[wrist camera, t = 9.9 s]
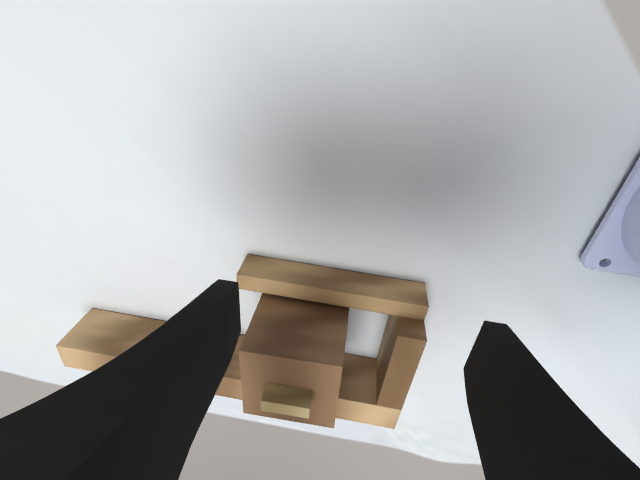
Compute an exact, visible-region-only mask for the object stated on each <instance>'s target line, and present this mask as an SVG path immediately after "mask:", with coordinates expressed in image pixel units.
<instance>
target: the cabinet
mask: <svg viewBox="0 0 640 480" xmlns="http://www.w3.org/2000/svg"><path fill="white" fill-rule="evenodd" d="M348 312H349V307H343V306H337V305H331V304H326V303H320V302H314V301H308V300H302V299H296V298H291V297H285V296H279V295H273V294H267V293H262V296H261V298H260V301H259V303H258V305H257V308H256V310H255V313H254V315H253V317H252V320H251V322H250V325H249V327H248V329H247V332H246V334H245V337H244V339H243V341H242V344H241V346H240V349H239V362H240V374H241V387H242V399H243V411H244V413H247V414H253V415H259V416H265V417H271V418H277V419H283V420H289V421H294V422H300V423H306V424H312V425H318V426H324V427H330V428H334V424H335V417H336V410H337V403H338V396H339V389H340V382H341V376H342V369H343V360H344V350H345V341H346V331H347V322H348Z"/></svg>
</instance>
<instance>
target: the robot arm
mask: <svg viewBox="0 0 640 480" xmlns="http://www.w3.org/2000/svg"><path fill="white" fill-rule="evenodd" d="M603 259H606V260H605V261H604V262H602V263H599V262H600V261H601V260H603ZM580 260H581V263H582V264H583V265H584V266H585V267H586V268H589V269H594V270H601V271H607V272H613V273H620V274H626V275H632V276H639V277H640V157H639V159H638V161H637V162H636V164H635V166H634V167H633V169H632V171H631V172H630V174H629V176H628V178H627V179H626V181H625V183H624V184H623V186H622V188H621V189H620V191H619V193H618V194H617V196H616V198H615V199H614V201H613V203H612V205H611V206H610V208H609V210H608V211H607V213H606V215H605V216H604V218H603V220H602V221H601V223H600V225H599V227H598V228H597V230H596V232H595V233H594V235H593V237H592V238H591V240H590V242H589V243H588V245H587V247H586V249H585V250H584V252H583V254H582V255H581V258H580ZM240 332H241V323H240V304H239V286H238V282H233V281H226V280H220V279H219V280H217V281H216V282H215V283H213V284H212V285H211V286H210V287H208V288H207V289H206V290H205V291H204V292H202V293H201V294H200V295H199V296H198V297H196V298H195V299H194V300H193V301H192V302H190V303H189V304H188V305H187V306H185V307H184V308H183V309H182V310H180V311H179V312H178V313H177V314H175V315H174V316H173V317H171V318H170V319H169V320H168V321H166V322H165V323H164V324H163V325H161V326H160V327H159V328H157V329H156V330H154V331H153V332H152V333H150V334H149V335H147V336H146V337H145V338H143V339H142V340H140V341H139V342H138V343H136V344H135V345H133V346H132V347H131V348H129V349H128V350H126V351H125V352H123V353H122V354H120V355H119V356H117V357H115V358H114V359H112V360H111V361H109V362H107V363H106V364H104V365H103V366H101V367H99V368H98V369H96V370H94V371H93V372H91V373H89V374H87V375H86V376H84V377H82V378H80V379H78V380H76V381H75V382H73V383H71V384H69V385H67V386H65V387H63V388H62V389H60V390H58V391H56V392H54V393H52V394H51V395H49V396H47V397H45V398H43V399H41V400H39V401H37V402H35V403H33V404H31V405H29V406H27V407H25V408H22V409H20V410H18V411H16V412H14V413H12V414H10V415H8V416H5V417H3V418H1V419H0V480H178V479H179V476H180V473H181V471H182V468H183V465H184V463H185V460H186V457H187V455H188V452H189V449H190V447H191V444H192V442H193V440H194V438H195V435H196V433H197V431H198V429H199V427H200V424H201V422H202V420H203V418H204V416H205V414H206V412H207V410H208V408H209V406H210V404H211V402H212V400H213V398H214V395H215V393H216V391H217V389H218V387H219V385H220V383H221V381H222V379H223V377H224V375H225V372H226V370H227V368H228V366H229V364H230V362H231V359H232V356H233V353H234V350H235V348H236V345H237V341H238V338H239V335H240ZM464 378H465V388H466V396H467V404H468V408H469V413H470V417H471V421H472V425H473V430H474V434H475V438H476V442H477V446H478V450H479V455H480V459H481V463H482V467H483V471H484V475H485V479H486V480H640V468H639V467H638V466H637V465H636V464H635V463H633V462H632V461H631V460H630V459H629V458H628V457H627V456H626V455H625V454H624V453H623V452H622V451H621V450H620V449H619V448H618V447H616V446H615V445H614V444H613V443H612V442H611V441H610V440H609V439H608V438H607V437H606V436H605V435H604V434H603V433H602V432H601V431H600V430H599V428H598V427H597V426H596V425H595V424H594V423H593V422H592V421H591V420H590V419H589V418H588V417H587V416H586V415H585V414H584V413H583V412H582V411H581V410H580V409H579V407H578V406H577V405H576V404H575V403H574V402H573V401H572V400H571V399H570V398H569V397H568V395H567V394H566V393H565V392H564V391H563V390H562V389H561V388H560V386H559V385H558V384H557V383H556V382H555V381H554V380H553V378H552V377H551V376H550V375H549V374H548V373H547V371H546V370H545V369H544V368H543V367H542V366H541V364H540V363H539V362H538V361H537V360H536V358H535V357H534V356H533V355H532V354H531V352H530V351H529V350H528V349H527V348H526V346H525V345H524V344H523V343H522V342H521V340H520V339H519V338H518V337H517V336H516V334H515V333H514V332H513V331H512V330H511V329H510V328H509V326H508V325H507V324H502V323H496V322H489V321H484V323H483V325H482V327H481V330H480V332H479V334H478V336H477V339H476V341H475V343H474V346H473V348H472V350H471V352H470V355H469V357H468V359H467V361H466V364H465V366H464Z"/></svg>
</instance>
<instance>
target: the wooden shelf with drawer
mask: <svg viewBox="0 0 640 480" xmlns="http://www.w3.org/2000/svg"><path fill="white" fill-rule="evenodd" d="M237 282H238V286H239V289H244V290H250V291H255V292H261V293H267V294H273V295H279V296H285V297H291V298H296V299H302V300H308V301H314V302H320V303H326V304H331V305H337V306H343V307H349V308H355V309H361V310H367V311H372V312H378V313H384V314H389V317H388V320H387V324H386V328H385V331H384V335H383V338H382V342H381V346H380V349H379V353H378V357H377V359H373V358H367V357H362V356H356V355H351V354H345V353H344V360H343V369H342V376H341V382H340V389H339V396H338V403H337V410H336V417H335V418H340V419H345V420H350V421H355V422H361V423H366V424H371V425H376V426H382V427H387V428H392V429H394V428H395V426H396V423H397V420H398V418H399V415H400V412H401V410H402V407H403V404H404V401H405V399H406V396H407V393H408V391H409V388H410V385H411V383H412V380H413V377H414V374H415V372H416V369H417V366H418V364H419V361H420V358H421V356H422V353H423V350H424V348H425V345H426V342H427V338H426V331H425V324H424V319H425V316H426V313H427V310H428V307H429V306H428V299H427V293H426V287H425V283H420V282H414V281H408V280H402V279H396V278H390V277H384V276H377V275H371V274H365V273H359V272H353V271H347V270H341V269H335V268H329V267H323V266H317V265H311V264H305V263H299V262H292V261H286V260H280V259H274V258H268V257H262V256H256V255H250V254H247V256H246V258H245V260H244V262H243V264H242V265H241V267H240V269H239V271H238V273H237ZM165 322H166V321H161V320H155V319H150V318H144V317H139V316H133V315H128V314H122V313H116V312H111V311H105V310H100V309H94V308H92V309H91V310H90V311H89V312H88V313H87V314H86V315H85V316H84V317H83V318H82V319H81V320H80V321H79V322H78V323H77V324H76V325H75V326H74V327H73V328H72V329H71V330H70V332H69V333H68V334H67V335H66V336H65V337H64V338H63V339H62V340H61V341H60V342H59V343H58V344H57V345H56V347H57V349H58V352H59V354H60V356H61V359H62V361H63V364H64V366H67V367H72V368H78V369H83V370H88V371H94V370H96V369H98V368H99V367H101V366H103V365H104V364H106V363H107V362H109V361H111V360H112V359H114V358H115V357H117V356H119V355H120V354H122V353H123V352H125V351H126V350H128V349H129V348H131V347H132V346H133V345H135V344H136V343H138V342H139V341H140V340H142V339H143V338H145V337H146V336H147V335H149V334H150V333H152V332H153V331H154V330H156V329H157V328H159V327H160V326H161V325H163V324H164V323H165ZM244 337H245V335H239V338H238V341H237V345H236V348H235V350H234V353H233V356H232V359H231V362H230V364H229V366H228V368H227V370H226V372H225V375H224V377H223V379H222V381H221V383H220V385H219V387H218V389H217V391H216V393H215V395H219V396H224V397H230V398H235V399H240V400H243V399H242V387H241V374H240V362H239V349H240V346H241V344H242V341H243V339H244Z"/></svg>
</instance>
